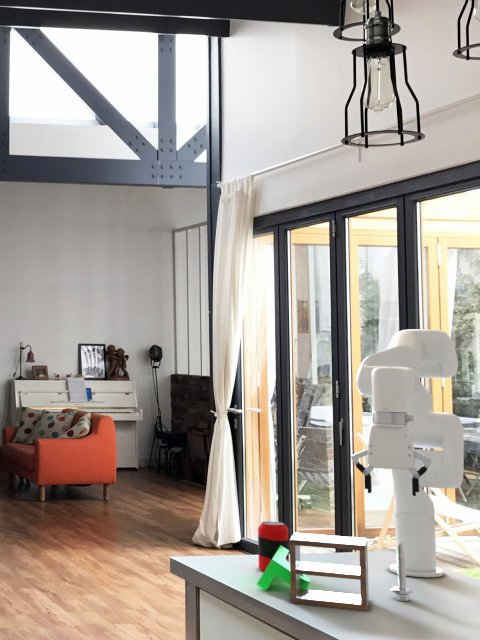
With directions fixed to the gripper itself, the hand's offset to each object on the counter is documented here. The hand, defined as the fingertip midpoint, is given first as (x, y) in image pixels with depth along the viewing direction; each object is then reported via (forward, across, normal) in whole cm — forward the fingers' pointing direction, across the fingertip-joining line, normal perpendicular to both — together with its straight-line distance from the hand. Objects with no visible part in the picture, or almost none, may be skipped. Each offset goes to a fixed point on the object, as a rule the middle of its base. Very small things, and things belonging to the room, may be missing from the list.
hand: (391, 493), depth 236 cm
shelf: (+24, +13, +10) cm, 29 cm away
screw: (+24, -2, 0) cm, 24 cm away
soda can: (+24, +30, -20) cm, 43 cm away
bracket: (+24, +24, -5) cm, 34 cm away
